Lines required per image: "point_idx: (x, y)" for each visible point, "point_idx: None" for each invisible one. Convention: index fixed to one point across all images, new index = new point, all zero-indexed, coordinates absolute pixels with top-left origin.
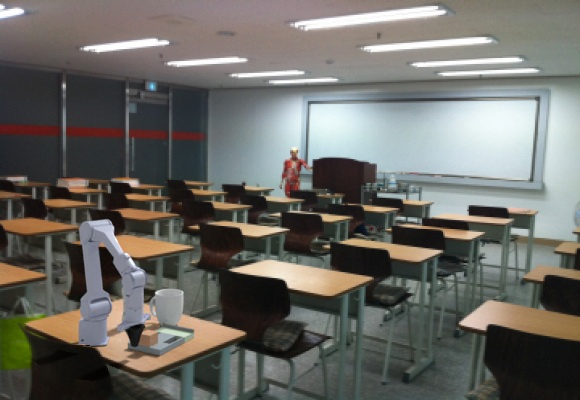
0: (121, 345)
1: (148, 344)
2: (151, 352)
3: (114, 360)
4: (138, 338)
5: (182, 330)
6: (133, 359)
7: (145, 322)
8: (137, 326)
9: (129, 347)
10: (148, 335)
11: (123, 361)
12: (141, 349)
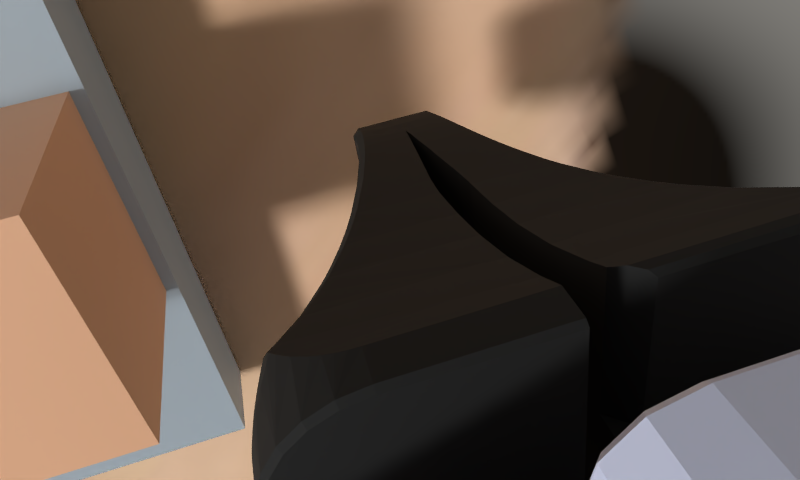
0: (240, 464)
1: (75, 139)
2: (71, 3)
3: (585, 168)
4: (429, 178)
5: None
6: (436, 18)
7: (665, 403)
8: (568, 457)
9: (233, 364)
10: (36, 254)
11: (559, 63)
12: (159, 207)
